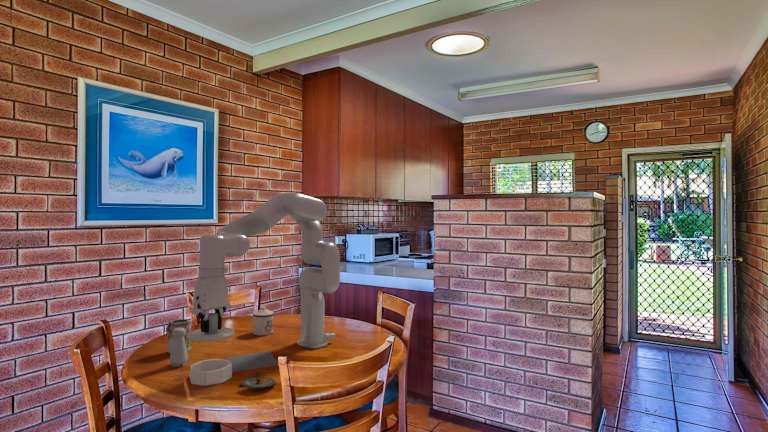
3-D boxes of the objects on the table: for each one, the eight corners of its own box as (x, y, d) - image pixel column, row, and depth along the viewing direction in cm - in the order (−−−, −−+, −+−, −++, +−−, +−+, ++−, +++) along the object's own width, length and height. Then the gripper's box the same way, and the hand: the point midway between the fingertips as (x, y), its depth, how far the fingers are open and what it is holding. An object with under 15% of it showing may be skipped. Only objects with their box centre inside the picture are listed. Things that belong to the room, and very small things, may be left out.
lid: (238, 399, 130) (238, 384, 129) (242, 378, 139) (243, 365, 138) (274, 398, 132) (275, 383, 131) (276, 378, 142) (277, 364, 140)
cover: (230, 327, 149) (230, 307, 149) (238, 338, 137) (238, 316, 137) (185, 332, 142) (185, 311, 142) (189, 344, 130) (189, 321, 130)
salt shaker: (190, 362, 156) (190, 326, 156) (183, 368, 150) (184, 330, 150) (174, 362, 156) (174, 326, 156) (166, 368, 150) (166, 330, 150)
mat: (268, 354, 166) (268, 351, 166) (280, 367, 152) (280, 364, 152) (224, 360, 159) (224, 357, 159) (232, 375, 145) (232, 372, 145)
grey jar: (184, 356, 162) (184, 324, 162) (161, 356, 162) (161, 324, 162) (194, 349, 171) (195, 318, 171) (173, 348, 171) (173, 318, 171)
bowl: (227, 371, 148) (227, 356, 148) (233, 383, 137) (234, 368, 137) (188, 377, 142) (188, 362, 142) (192, 391, 131) (192, 374, 131)
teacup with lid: (267, 336, 190) (268, 309, 190) (248, 335, 191) (248, 308, 191) (279, 329, 202) (279, 304, 201) (261, 328, 203) (261, 303, 203)
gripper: (225, 269, 148) (224, 323, 148) (180, 275, 134) (180, 334, 134) (240, 271, 145) (240, 326, 145) (196, 277, 130) (195, 338, 130)
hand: (211, 329), depth 139 cm, fingers closed on cover, 4 cm apart
